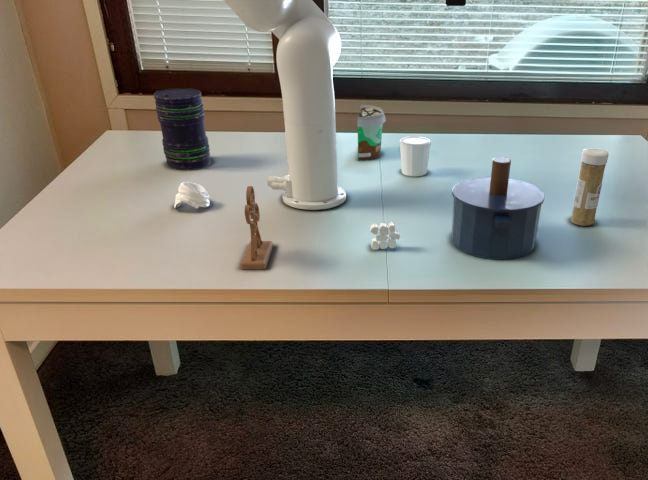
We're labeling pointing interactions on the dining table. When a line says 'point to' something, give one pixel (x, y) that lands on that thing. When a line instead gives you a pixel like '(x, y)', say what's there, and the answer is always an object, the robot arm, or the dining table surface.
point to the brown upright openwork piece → (255, 237)
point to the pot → (494, 232)
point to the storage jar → (183, 128)
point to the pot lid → (498, 191)
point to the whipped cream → (192, 195)
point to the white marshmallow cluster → (384, 236)
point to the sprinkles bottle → (589, 186)
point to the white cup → (414, 155)
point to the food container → (370, 132)
